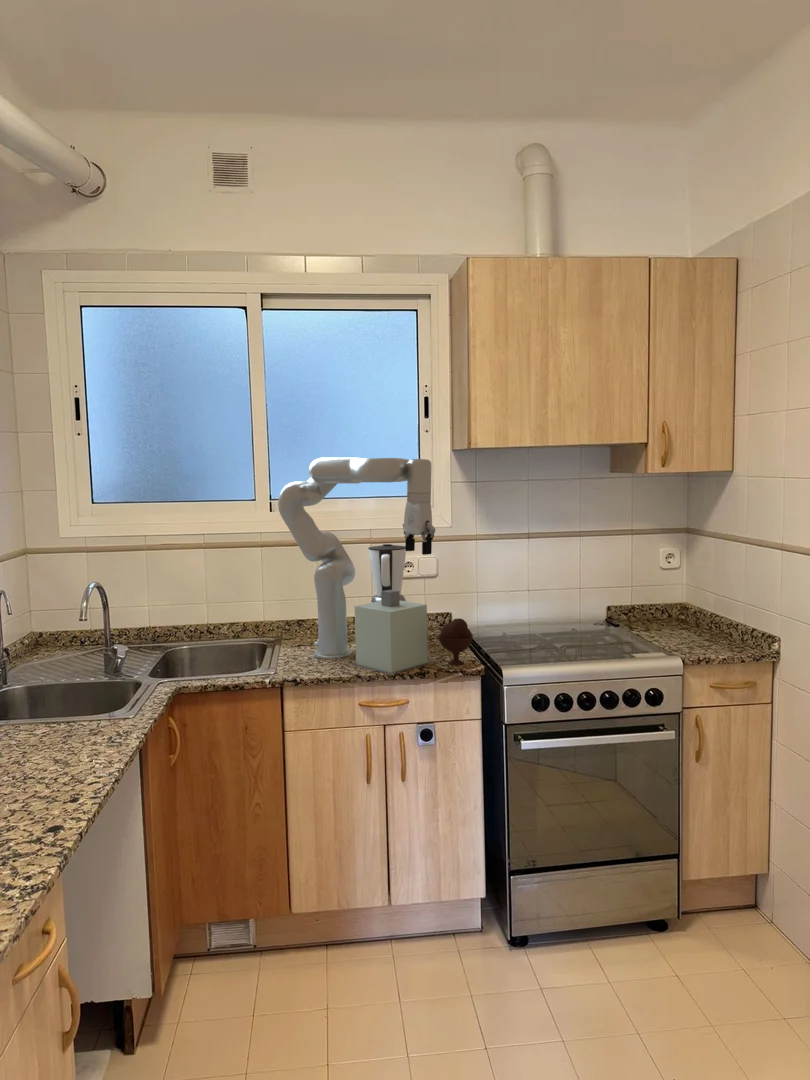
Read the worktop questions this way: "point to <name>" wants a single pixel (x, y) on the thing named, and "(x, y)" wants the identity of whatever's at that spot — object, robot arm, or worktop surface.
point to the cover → (391, 633)
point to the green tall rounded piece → (387, 568)
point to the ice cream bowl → (455, 639)
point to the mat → (393, 672)
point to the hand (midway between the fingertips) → (418, 552)
